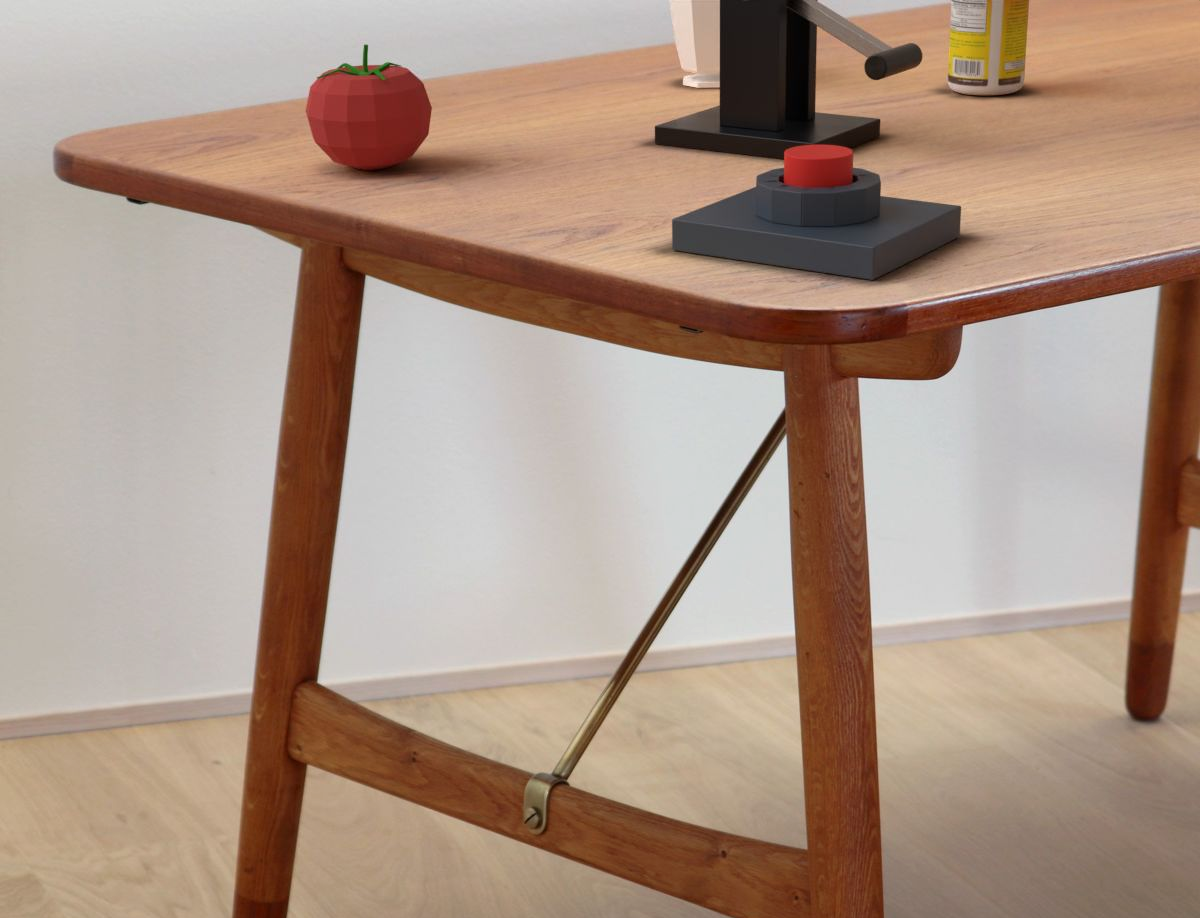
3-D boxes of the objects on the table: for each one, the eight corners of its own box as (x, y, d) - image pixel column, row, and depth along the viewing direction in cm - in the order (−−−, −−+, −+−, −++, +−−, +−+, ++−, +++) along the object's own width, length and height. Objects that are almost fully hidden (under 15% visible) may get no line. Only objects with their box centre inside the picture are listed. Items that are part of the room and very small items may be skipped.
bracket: (880, 136, 128) (886, -50, 123) (813, 162, 121) (817, -34, 116) (725, 120, 134) (726, -58, 129) (654, 144, 128) (652, -43, 123)
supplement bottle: (1019, 83, 144) (1029, -61, 140) (1027, 97, 139) (1037, -52, 135) (943, 83, 145) (951, -60, 140) (949, 97, 140) (956, -51, 135)
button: (864, 181, 102) (865, 148, 101) (831, 195, 99) (832, 161, 99) (804, 174, 104) (805, 141, 103) (771, 187, 101) (771, 154, 101)
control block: (960, 237, 103) (963, 171, 102) (873, 280, 96) (875, 211, 95) (767, 211, 110) (767, 149, 108) (671, 250, 102) (671, 184, 101)
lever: (913, 78, 123) (929, 44, 121) (877, 91, 119) (893, 56, 118) (765, -15, 126) (778, -49, 125) (725, -6, 123) (738, -41, 121)
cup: (648, 87, 146) (647, -23, 143) (704, 66, 154) (704, -39, 151) (733, 93, 143) (733, -20, 140) (785, 71, 151) (787, -36, 148)
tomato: (332, 186, 118) (321, 58, 115) (294, 163, 125) (283, 41, 122) (453, 171, 121) (446, 46, 118) (410, 149, 128) (402, 30, 125)
